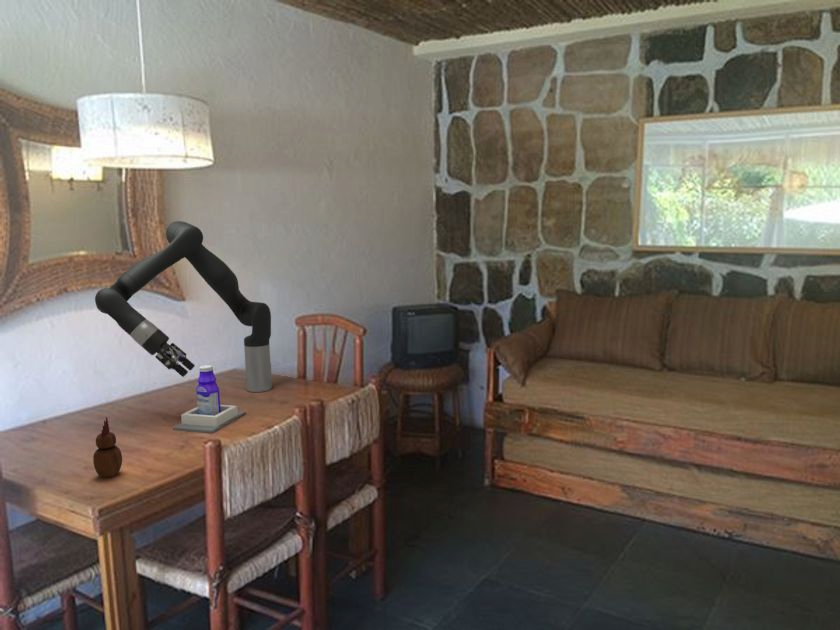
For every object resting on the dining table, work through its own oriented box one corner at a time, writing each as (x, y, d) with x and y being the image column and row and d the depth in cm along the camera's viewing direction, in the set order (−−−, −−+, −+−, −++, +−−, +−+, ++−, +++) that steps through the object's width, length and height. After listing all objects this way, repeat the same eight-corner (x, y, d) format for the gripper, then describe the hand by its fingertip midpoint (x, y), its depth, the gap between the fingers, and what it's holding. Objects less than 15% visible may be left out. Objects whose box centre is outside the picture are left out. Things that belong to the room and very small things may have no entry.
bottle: (194, 420, 216) (191, 367, 213) (207, 415, 221) (204, 363, 218) (211, 423, 213) (208, 369, 210) (224, 418, 218) (221, 365, 215)
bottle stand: (208, 411, 228) (208, 400, 228) (245, 413, 225) (245, 402, 224) (172, 429, 209) (171, 418, 209) (212, 433, 206) (211, 421, 205)
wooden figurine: (109, 469, 179) (104, 414, 176) (127, 471, 177) (122, 416, 174) (90, 478, 172) (84, 422, 170) (108, 481, 170) (103, 424, 168)
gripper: (150, 332, 204) (191, 368, 207) (164, 324, 218) (202, 358, 221) (133, 350, 204) (175, 385, 207) (148, 341, 218) (187, 374, 221)
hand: (189, 371), depth 214 cm, fingers open, 8 cm apart
